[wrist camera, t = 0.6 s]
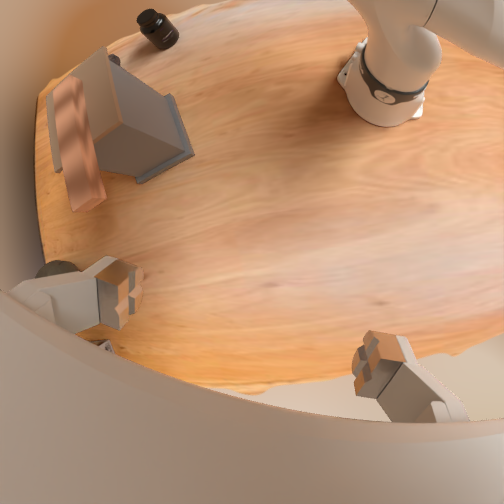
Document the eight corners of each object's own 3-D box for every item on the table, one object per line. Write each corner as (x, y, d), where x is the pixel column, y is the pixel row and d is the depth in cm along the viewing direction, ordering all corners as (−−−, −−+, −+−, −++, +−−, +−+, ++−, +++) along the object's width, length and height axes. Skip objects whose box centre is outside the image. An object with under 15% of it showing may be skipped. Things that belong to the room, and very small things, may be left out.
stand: (125, 126, 59) (46, 96, 34) (173, 96, 56) (103, 45, 31) (141, 184, 60) (54, 172, 35) (194, 155, 57) (119, 121, 31)
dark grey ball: (56, 276, 70) (18, 286, 55) (77, 246, 66) (35, 253, 52) (80, 316, 69) (43, 333, 54) (104, 289, 66) (63, 304, 51)
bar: (65, 95, 33) (52, 90, 30) (82, 80, 32) (69, 74, 29) (87, 211, 34) (72, 212, 31) (107, 198, 33) (91, 198, 30)
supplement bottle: (177, 47, 54) (154, 23, 43) (153, 51, 56) (128, 30, 44) (182, 27, 53) (161, 2, 42) (159, 31, 55) (136, 9, 43)
